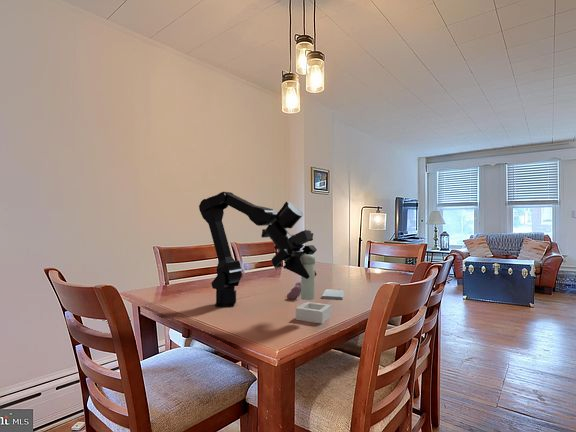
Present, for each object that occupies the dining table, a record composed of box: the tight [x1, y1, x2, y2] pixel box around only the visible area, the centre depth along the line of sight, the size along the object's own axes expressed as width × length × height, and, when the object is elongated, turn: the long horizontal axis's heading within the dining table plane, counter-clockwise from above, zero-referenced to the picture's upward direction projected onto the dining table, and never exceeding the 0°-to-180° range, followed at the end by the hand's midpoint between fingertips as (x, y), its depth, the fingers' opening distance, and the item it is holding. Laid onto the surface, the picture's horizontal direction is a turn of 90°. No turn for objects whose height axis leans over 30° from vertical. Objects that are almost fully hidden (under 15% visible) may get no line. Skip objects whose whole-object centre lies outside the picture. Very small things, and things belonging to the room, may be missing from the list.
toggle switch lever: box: [300, 254, 316, 301], centre depth 97 cm, size 4×4×13 cm
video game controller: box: [286, 281, 301, 300], centre depth 128 cm, size 10×5×7 cm, turn 169°
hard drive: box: [320, 288, 346, 301], centre depth 130 cm, size 2×8×12 cm
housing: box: [295, 301, 333, 325], centre depth 101 cm, size 9×9×4 cm
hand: (312, 276), depth 97 cm, fingers closed on toggle switch lever, 4 cm apart
